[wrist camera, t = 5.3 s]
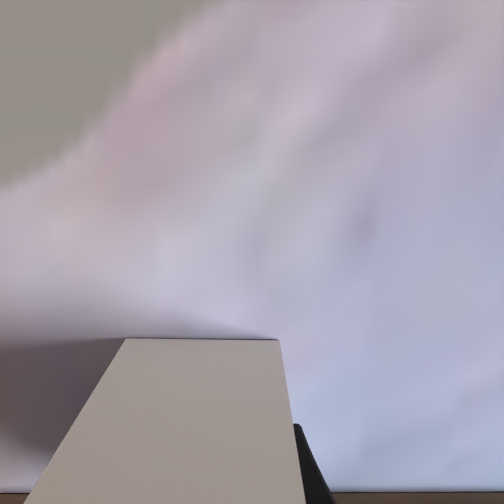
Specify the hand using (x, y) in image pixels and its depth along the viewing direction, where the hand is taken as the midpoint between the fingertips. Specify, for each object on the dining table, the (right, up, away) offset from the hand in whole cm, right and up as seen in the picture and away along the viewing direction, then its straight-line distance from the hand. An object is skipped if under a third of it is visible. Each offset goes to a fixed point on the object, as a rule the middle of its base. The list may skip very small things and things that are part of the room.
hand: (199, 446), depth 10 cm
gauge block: (0, 0, +1) cm, 1 cm away
